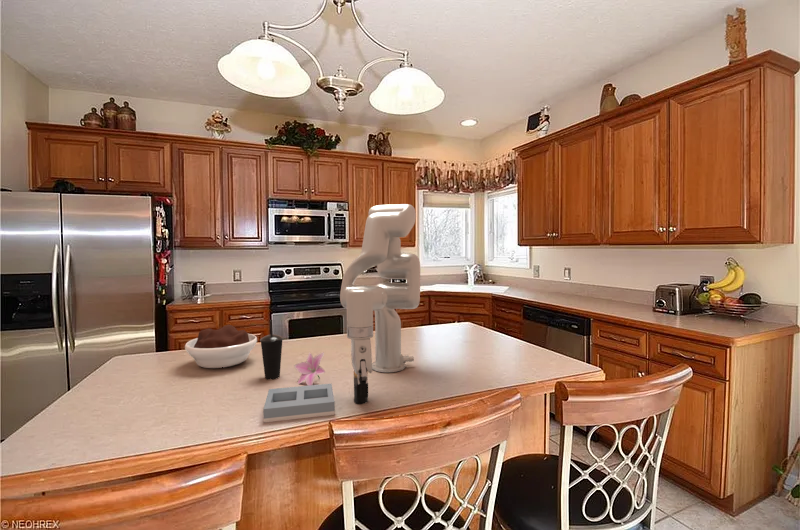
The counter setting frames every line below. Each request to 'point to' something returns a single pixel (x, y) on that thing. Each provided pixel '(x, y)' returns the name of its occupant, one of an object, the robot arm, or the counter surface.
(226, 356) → the white bowl of brownies
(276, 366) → the drinking cup
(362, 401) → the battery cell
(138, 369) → the counter surface
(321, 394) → the tray
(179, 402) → the counter surface
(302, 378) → the lily
